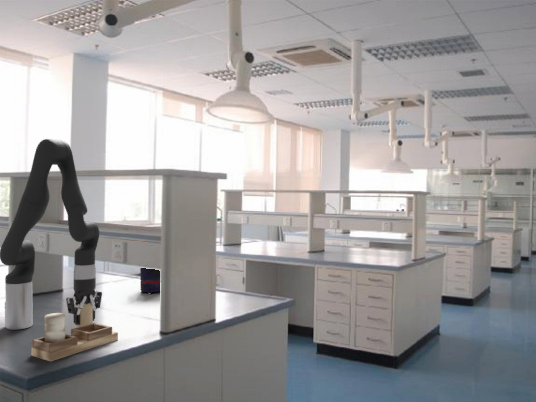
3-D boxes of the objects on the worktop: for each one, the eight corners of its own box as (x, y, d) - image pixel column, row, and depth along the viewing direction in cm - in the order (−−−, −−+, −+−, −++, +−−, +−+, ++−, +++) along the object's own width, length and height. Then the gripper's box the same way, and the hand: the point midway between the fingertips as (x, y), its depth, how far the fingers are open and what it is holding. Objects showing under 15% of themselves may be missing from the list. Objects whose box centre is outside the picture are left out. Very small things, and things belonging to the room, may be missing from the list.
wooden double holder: (31, 355, 156) (30, 316, 156) (99, 335, 178) (98, 300, 178) (50, 361, 151) (50, 320, 151) (117, 339, 173) (117, 304, 173)
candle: (85, 332, 176) (85, 304, 176) (73, 330, 178) (73, 303, 178) (95, 328, 181) (96, 301, 181) (83, 326, 183) (84, 299, 183)
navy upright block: (168, 292, 253) (168, 233, 253) (147, 295, 245) (147, 235, 245) (155, 288, 264) (154, 232, 263) (134, 291, 256) (134, 233, 255)
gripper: (94, 272, 187) (94, 316, 187) (60, 278, 175) (60, 325, 175) (107, 274, 183) (107, 320, 183) (74, 280, 171) (74, 329, 171)
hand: (84, 322), depth 179 cm, fingers closed on candle, 5 cm apart
